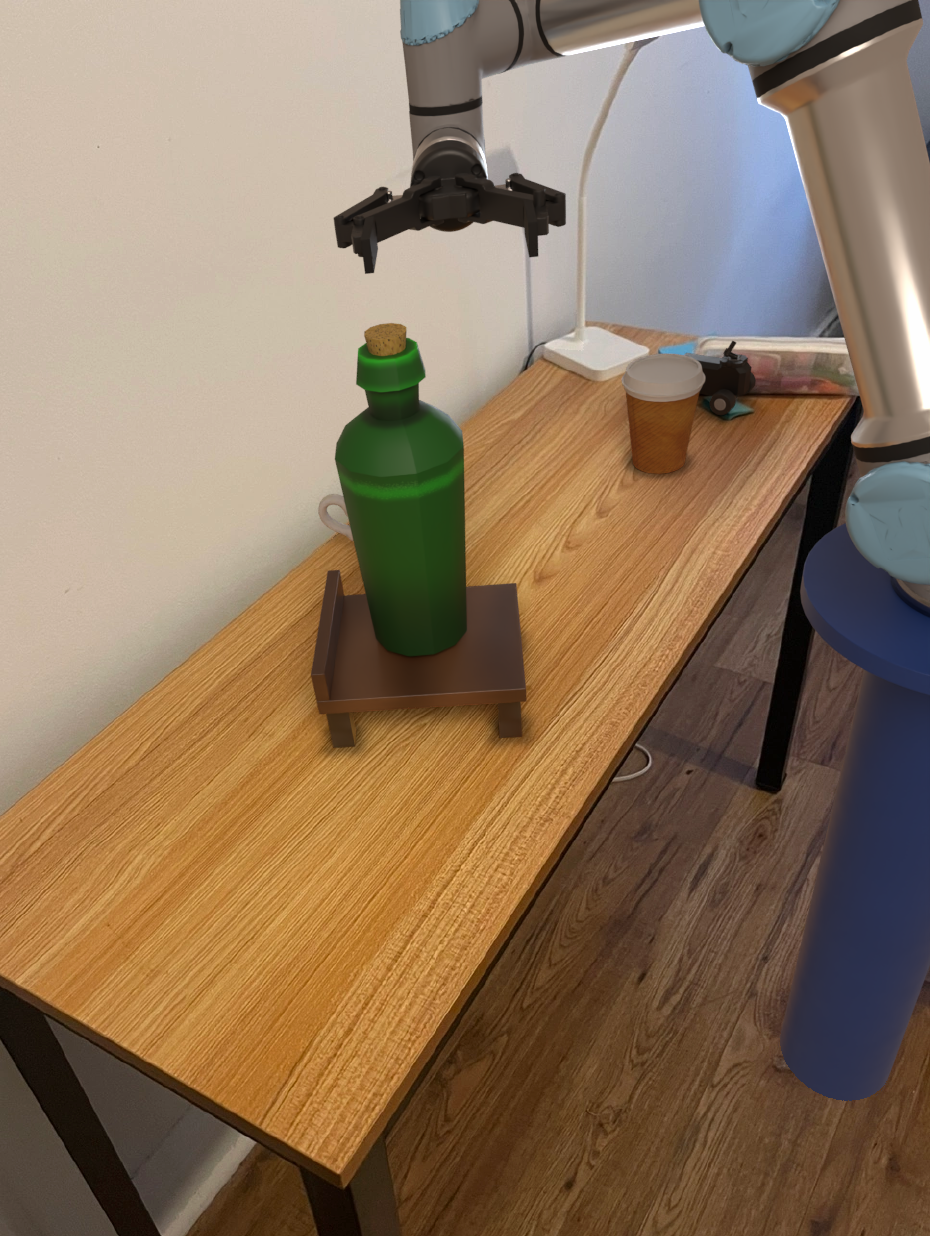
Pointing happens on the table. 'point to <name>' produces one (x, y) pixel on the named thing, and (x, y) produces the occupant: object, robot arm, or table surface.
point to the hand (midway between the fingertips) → (449, 248)
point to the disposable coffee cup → (661, 409)
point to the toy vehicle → (725, 378)
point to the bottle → (405, 500)
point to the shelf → (417, 662)
